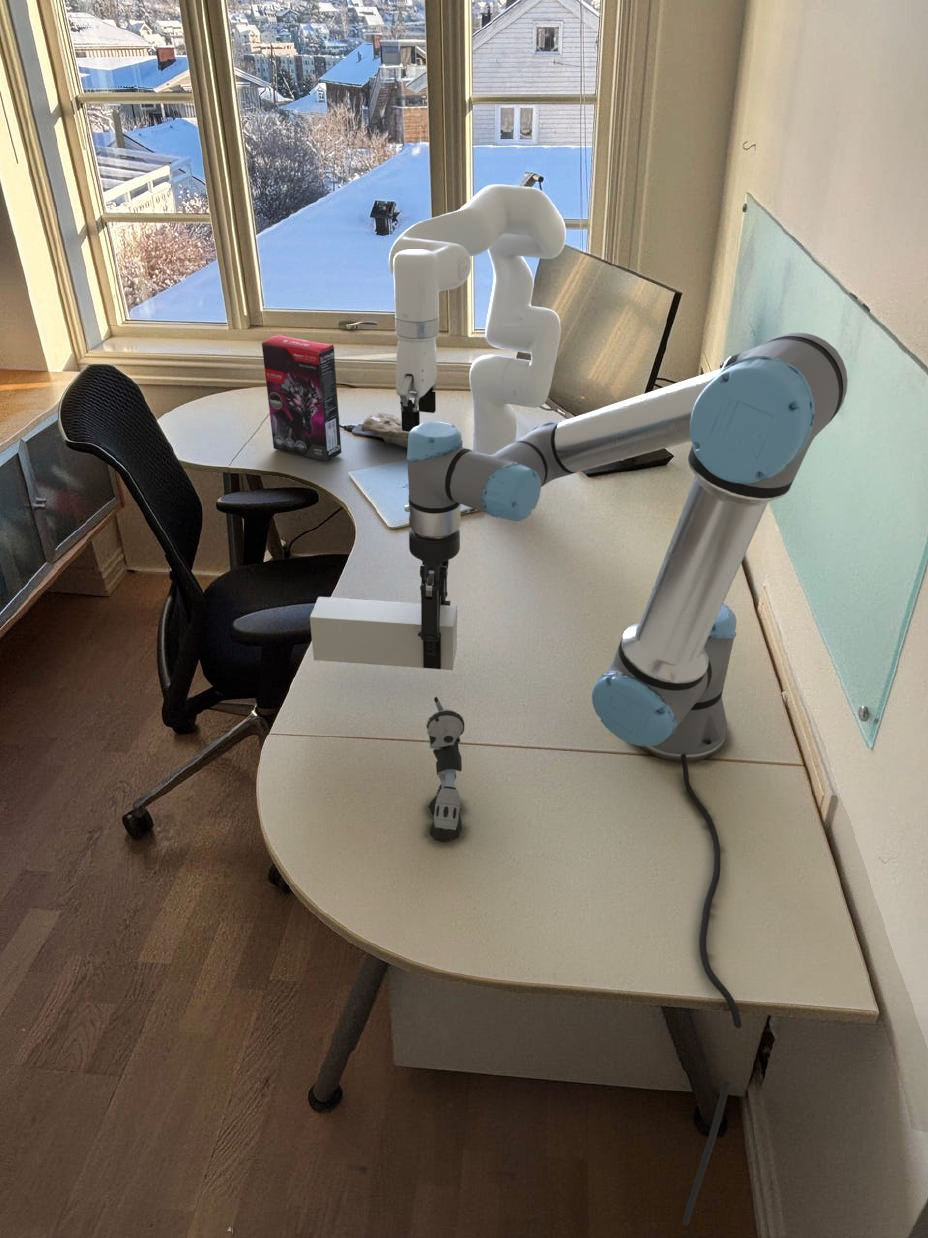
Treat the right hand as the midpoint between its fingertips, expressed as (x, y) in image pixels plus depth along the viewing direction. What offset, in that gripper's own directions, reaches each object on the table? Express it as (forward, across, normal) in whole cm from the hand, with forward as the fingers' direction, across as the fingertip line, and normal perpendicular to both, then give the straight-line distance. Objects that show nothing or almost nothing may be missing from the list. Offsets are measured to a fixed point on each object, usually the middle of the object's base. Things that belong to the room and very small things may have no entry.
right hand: (434, 654), depth 148 cm
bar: (+1, 0, -8) cm, 8 cm away
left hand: (-23, -40, -8) cm, 47 cm away
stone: (+7, -99, -22) cm, 101 cm away
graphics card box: (+7, -90, -43) cm, 101 cm away
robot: (+6, +29, +5) cm, 31 cm away
